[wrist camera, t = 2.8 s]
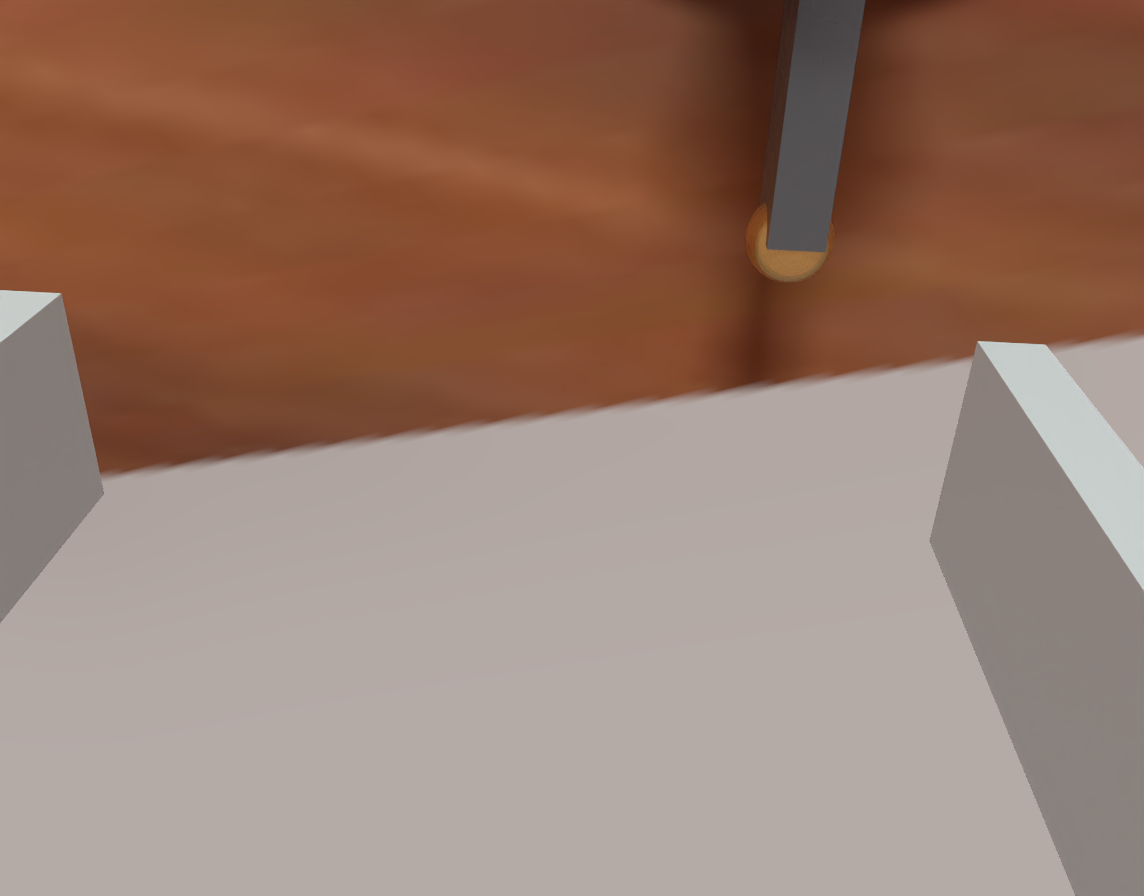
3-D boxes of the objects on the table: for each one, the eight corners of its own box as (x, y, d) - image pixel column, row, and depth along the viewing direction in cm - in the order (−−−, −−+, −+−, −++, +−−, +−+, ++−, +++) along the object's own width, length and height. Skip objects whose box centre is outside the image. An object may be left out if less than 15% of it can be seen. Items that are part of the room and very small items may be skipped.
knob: (730, -354, 23) (757, -406, 18) (976, -346, 23) (1072, -396, 18) (678, 243, 30) (687, 329, 25) (869, 253, 30) (917, 341, 25)
